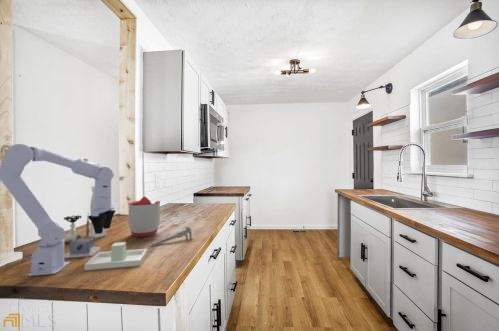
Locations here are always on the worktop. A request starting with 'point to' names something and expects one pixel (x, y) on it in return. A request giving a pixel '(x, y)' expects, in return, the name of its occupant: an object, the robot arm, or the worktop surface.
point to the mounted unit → (82, 248)
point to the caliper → (174, 236)
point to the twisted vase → (89, 221)
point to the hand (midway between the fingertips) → (102, 230)
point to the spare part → (118, 251)
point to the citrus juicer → (144, 217)
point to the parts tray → (104, 261)
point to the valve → (72, 229)
